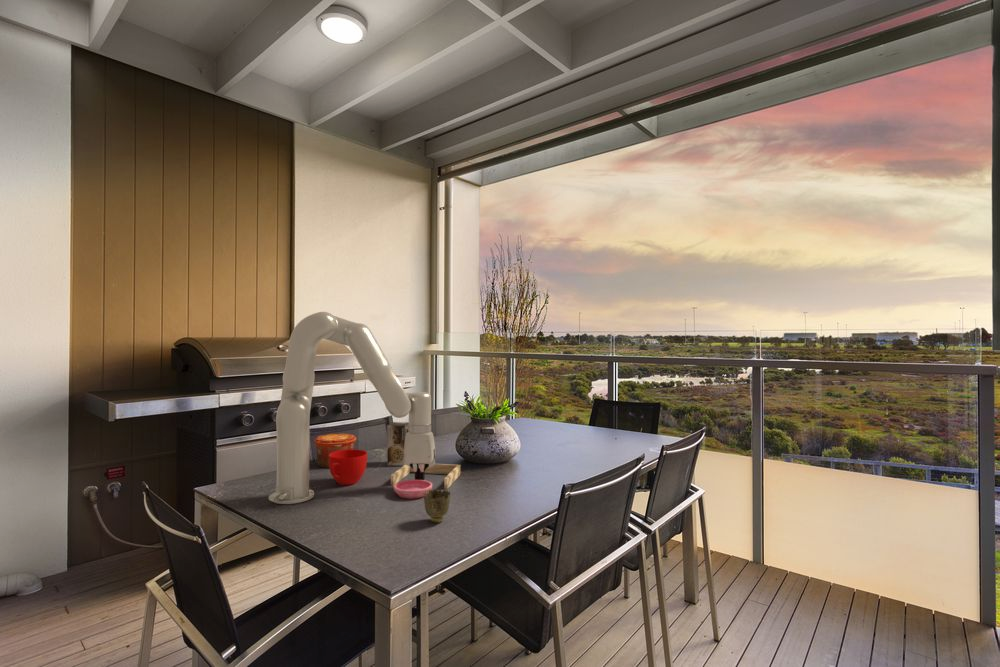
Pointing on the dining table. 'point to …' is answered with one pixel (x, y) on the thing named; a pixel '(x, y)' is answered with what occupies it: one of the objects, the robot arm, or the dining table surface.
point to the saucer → (412, 488)
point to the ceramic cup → (347, 465)
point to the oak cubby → (448, 469)
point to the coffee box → (396, 443)
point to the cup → (436, 504)
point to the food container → (332, 446)
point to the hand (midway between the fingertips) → (419, 482)
